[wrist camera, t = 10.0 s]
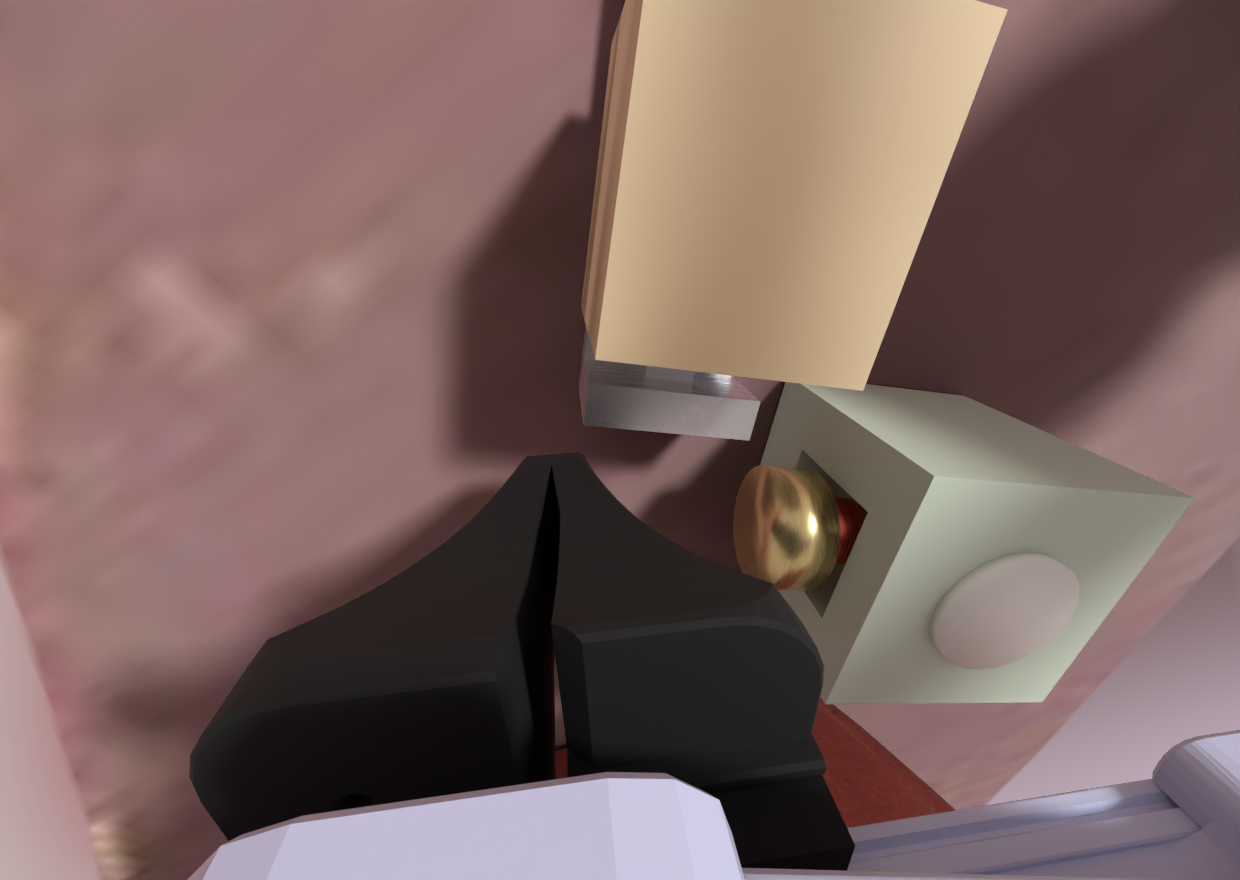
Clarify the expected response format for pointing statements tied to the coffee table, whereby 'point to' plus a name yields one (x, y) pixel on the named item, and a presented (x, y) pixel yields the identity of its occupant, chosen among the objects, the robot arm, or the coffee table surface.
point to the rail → (663, 399)
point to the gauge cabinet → (961, 544)
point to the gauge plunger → (792, 527)
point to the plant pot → (857, 774)
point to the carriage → (772, 178)
